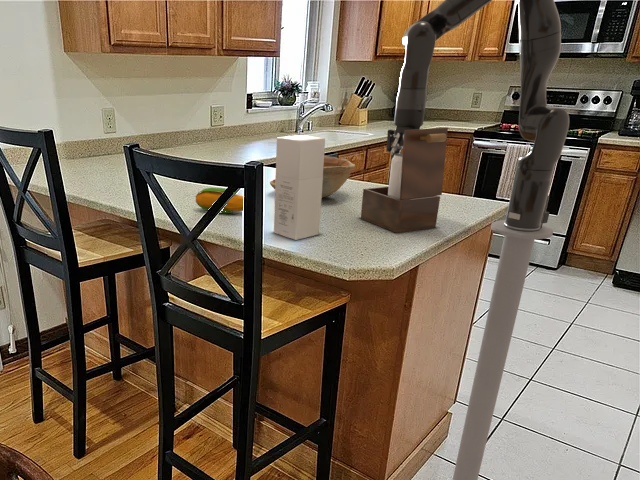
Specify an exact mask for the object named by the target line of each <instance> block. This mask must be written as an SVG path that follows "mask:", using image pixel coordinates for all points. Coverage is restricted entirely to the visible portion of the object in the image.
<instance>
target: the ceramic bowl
mask: <svg viewBox="0 0 640 480" xmlns="http://www.w3.org/2000/svg"><path fill="white" fill-rule="evenodd" d="M355 167H356V164H355V163H352V162H351V161H349V160H348V159H347V158H339V157H335V156H330V155H329V156H328V155H324V165H323V183H322V198H326V197H329V196H331V195H332V194H334V193H336V192H337V191H338V190H340V188H342V187H343V186H344V184H345V183H346V182H347V180H348V179H349V177H350V175H351V173H352V171H353V170H354V168H355ZM269 185H270V186H271V187H272V188H273V190H275V179H272V180H271V181H269ZM322 198H321V199H322Z"/></svg>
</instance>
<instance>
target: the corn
mask: <svg viewBox="0 0 640 480" xmlns="http://www.w3.org/2000/svg"><path fill="white" fill-rule="evenodd" d="M226 189H227V188H223V187H207V188H203V189H202V190H200V191H198V193H197V194H196V195H195V200H194V201H195V203H196V204H197V206H198V207H200V208H201V209H203V210H205V211H208V209H209V208H210V207H211V206H212V204H213V203H214V202H215V201H216V200H217V199H218V198H219V197H220V196H221V195H222V193H223V192H224V191H225V190H226ZM234 194H235V195H234V196H233V197H232V198H231V199H230V201H229V202H228V203H227V205H226V206H225V207H224V209H223V211H221V212H219V213H220V214H233V212H244V211H243V195H240V194H236V193H234ZM225 211H226V212H225Z"/></svg>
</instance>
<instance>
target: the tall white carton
mask: <svg viewBox="0 0 640 480" xmlns="http://www.w3.org/2000/svg"><path fill="white" fill-rule="evenodd" d="M325 148H326V138H325V137H319V136H313V135H312V136H311V135H304V134H297V135H288V136H278V137H276V149H275V153H276V154H275V179H274V180H275V189H274V214H273V215H274V219H273V233H275V234H277V235H281V236H283V237H286V238H288V239H292V240H294V241H298V240H302V239H306V238H310V237H313V236H318V235H319V234H320V230H321V229H320V228H321V214H322V213H321V212H322V183H323V165H324V156H325Z"/></svg>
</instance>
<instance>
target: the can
mask: <svg viewBox="0 0 640 480" xmlns="http://www.w3.org/2000/svg"><path fill="white" fill-rule="evenodd" d="M402 158H403V152H400V153H396V154H394V157H393V159H392V162H391V161H390V170H389V171H390V172H389V180H388V186H389V188H388V196H389V197H392V198H395V199H398V200H408V199H400V188H401V173H402Z"/></svg>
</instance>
